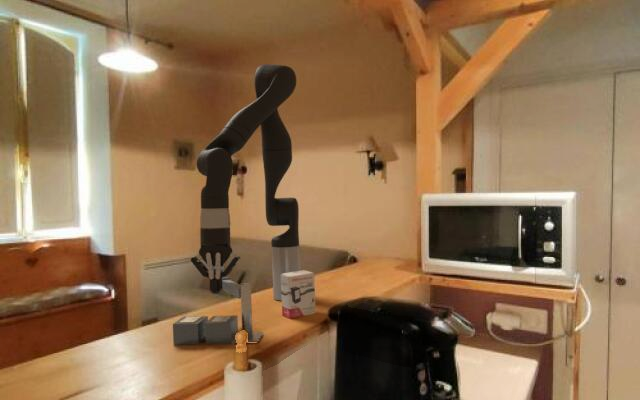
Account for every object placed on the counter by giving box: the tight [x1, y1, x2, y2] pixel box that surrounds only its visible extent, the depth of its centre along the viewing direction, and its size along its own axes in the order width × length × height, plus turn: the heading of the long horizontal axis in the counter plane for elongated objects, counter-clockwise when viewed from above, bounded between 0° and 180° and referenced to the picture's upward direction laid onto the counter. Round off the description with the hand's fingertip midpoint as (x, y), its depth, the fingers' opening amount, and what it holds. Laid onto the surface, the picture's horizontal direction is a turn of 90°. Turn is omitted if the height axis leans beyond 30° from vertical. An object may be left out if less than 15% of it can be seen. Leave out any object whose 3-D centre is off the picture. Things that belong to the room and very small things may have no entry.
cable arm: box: [220, 276, 241, 300], centre depth 104 cm, size 16×3×3 cm, turn 31°
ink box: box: [281, 269, 316, 319], centre depth 115 cm, size 8×5×12 cm, turn 123°
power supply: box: [205, 314, 239, 346], centre depth 96 cm, size 6×6×5 cm
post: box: [231, 282, 264, 345], centre depth 96 cm, size 6×6×13 cm
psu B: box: [172, 315, 209, 346], centre depth 96 cm, size 6×6×5 cm
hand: (216, 292), depth 105 cm, fingers closed
